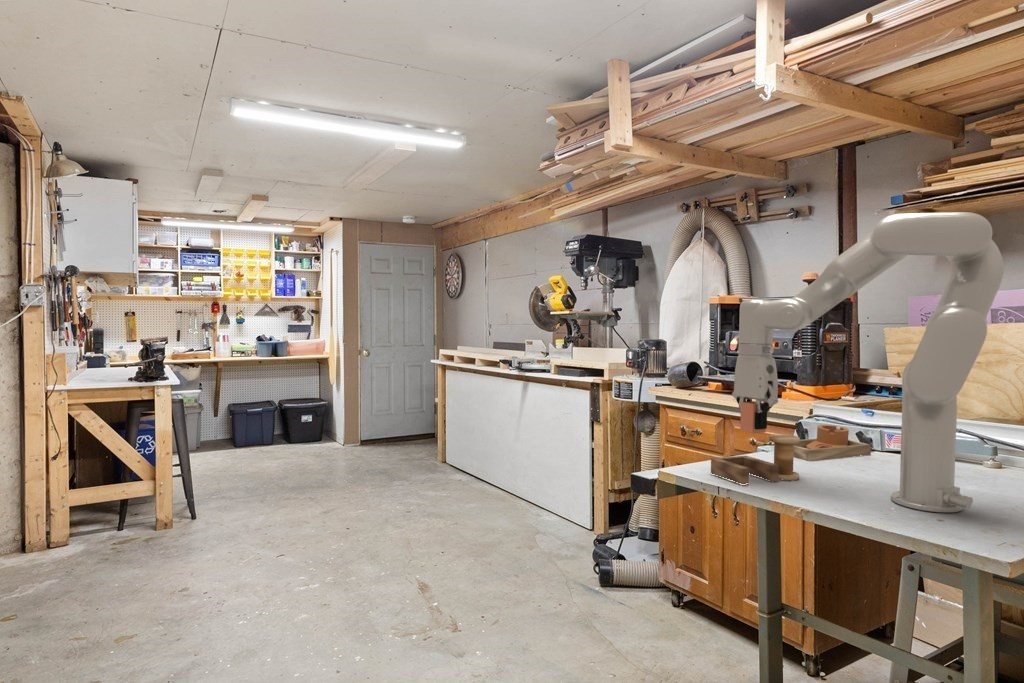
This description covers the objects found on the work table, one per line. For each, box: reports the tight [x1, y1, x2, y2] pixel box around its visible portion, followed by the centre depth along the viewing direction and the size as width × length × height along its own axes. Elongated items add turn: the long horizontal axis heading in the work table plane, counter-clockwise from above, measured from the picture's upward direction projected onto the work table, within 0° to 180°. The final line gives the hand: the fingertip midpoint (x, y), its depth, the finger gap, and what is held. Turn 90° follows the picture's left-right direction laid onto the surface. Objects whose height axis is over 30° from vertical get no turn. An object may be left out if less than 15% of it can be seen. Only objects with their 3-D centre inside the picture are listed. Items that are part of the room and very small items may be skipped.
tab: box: [739, 400, 767, 435], centre depth 147 cm, size 4×4×7 cm
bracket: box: [806, 424, 850, 449], centre depth 180 cm, size 18×8×7 cm, turn 138°
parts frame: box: [793, 438, 872, 462], centre depth 179 cm, size 12×23×3 cm, turn 111°
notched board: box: [710, 455, 780, 484], centre depth 150 cm, size 11×11×4 cm
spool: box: [768, 433, 801, 481], centre depth 151 cm, size 7×7×10 cm
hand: (753, 426), depth 147 cm, fingers closed on tab, 4 cm apart
